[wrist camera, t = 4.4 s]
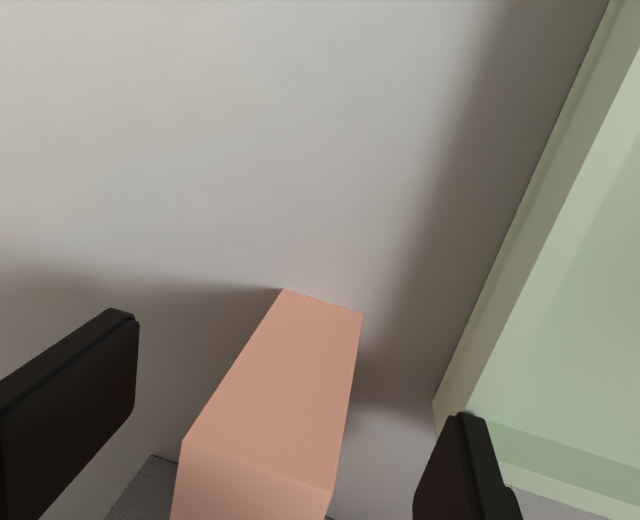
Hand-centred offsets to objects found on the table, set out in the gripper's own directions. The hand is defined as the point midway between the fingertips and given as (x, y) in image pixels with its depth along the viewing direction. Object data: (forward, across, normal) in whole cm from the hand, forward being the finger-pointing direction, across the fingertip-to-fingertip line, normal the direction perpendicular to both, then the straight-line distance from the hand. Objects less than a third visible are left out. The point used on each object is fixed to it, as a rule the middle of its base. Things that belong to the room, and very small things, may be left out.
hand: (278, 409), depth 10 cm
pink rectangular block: (+3, 0, +4) cm, 4 cm away
